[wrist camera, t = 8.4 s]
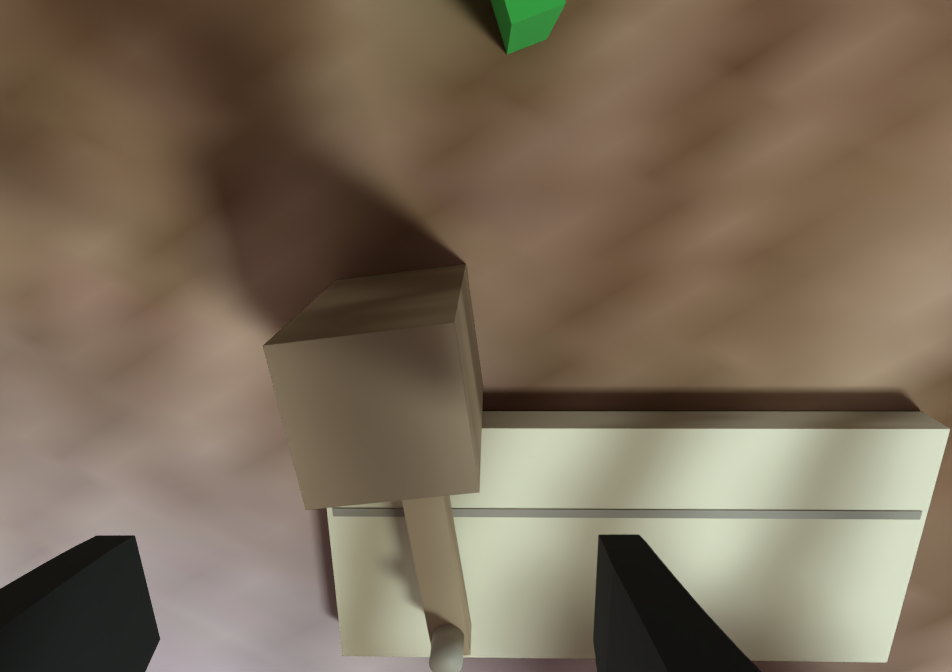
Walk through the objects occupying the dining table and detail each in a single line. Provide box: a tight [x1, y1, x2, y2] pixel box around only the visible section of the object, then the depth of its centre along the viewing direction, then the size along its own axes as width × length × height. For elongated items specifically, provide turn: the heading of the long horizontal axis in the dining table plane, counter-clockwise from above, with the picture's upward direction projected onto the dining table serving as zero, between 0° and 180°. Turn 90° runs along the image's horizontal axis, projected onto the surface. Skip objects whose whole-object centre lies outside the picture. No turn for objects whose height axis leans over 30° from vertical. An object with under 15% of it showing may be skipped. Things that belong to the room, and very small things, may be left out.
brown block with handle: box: [263, 264, 483, 672], centre depth 17 cm, size 4×12×6 cm, turn 8°
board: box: [327, 411, 950, 662], centre depth 20 cm, size 19×9×1 cm, turn 91°
